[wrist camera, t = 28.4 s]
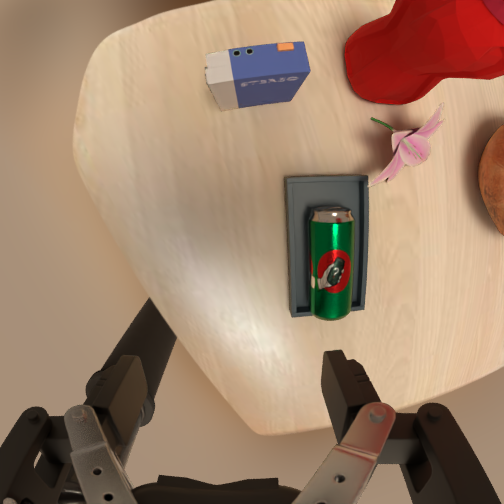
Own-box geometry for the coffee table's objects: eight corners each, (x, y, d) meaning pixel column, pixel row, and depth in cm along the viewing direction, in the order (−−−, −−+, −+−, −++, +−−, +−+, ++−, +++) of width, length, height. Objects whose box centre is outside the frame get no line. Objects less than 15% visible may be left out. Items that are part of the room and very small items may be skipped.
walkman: (286, 79, 30) (304, 39, 19) (290, 101, 31) (311, 70, 19) (216, 88, 30) (200, 52, 19) (220, 111, 31) (205, 84, 20)
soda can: (359, 312, 34) (364, 208, 30) (330, 327, 31) (332, 214, 28) (329, 299, 38) (330, 204, 34) (299, 311, 35) (297, 209, 32)
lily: (333, 181, 34) (388, 221, 27) (333, 82, 27) (403, 101, 20) (401, 165, 37) (454, 196, 30) (407, 82, 30) (470, 103, 23)
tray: (359, 302, 38) (364, 310, 36) (289, 309, 38) (291, 317, 36) (361, 174, 33) (368, 175, 31) (284, 176, 33) (286, 177, 31)
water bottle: (425, 109, 31) (588, 85, 7) (347, 103, 31) (501, 28, 7) (414, 45, 28) (548, -24, 4) (337, 34, 28) (441, -92, 4)
